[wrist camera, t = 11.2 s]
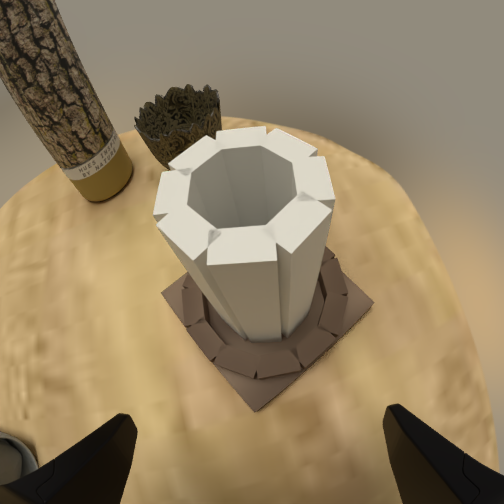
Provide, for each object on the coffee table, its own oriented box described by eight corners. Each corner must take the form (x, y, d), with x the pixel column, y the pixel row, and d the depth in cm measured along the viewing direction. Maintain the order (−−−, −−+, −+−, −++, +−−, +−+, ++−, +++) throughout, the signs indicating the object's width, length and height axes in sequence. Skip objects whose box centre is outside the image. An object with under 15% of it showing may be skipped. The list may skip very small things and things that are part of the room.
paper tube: (140, 153, 31) (57, -39, 9) (127, 199, 28) (9, -21, 6) (93, 165, 31) (2, 0, 9) (77, 209, 28) (-45, 29, 6)
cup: (148, 187, 28) (116, 128, 21) (187, 140, 31) (167, 81, 24) (209, 206, 26) (185, 138, 19) (246, 152, 29) (234, 86, 22)
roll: (325, 295, 20) (363, 175, 9) (267, 360, 18) (242, 304, 8) (262, 246, 22) (240, 111, 12) (204, 302, 21) (127, 197, 10)
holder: (370, 306, 20) (381, 293, 18) (256, 411, 18) (251, 414, 15) (271, 215, 25) (270, 194, 22) (165, 297, 22) (151, 283, 20)
